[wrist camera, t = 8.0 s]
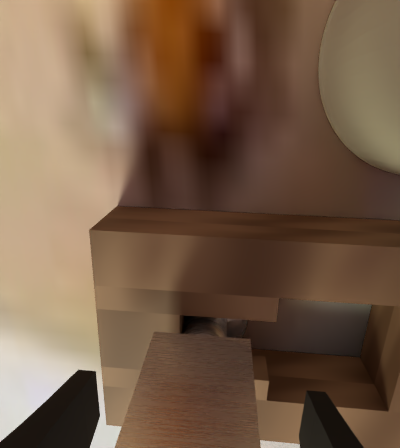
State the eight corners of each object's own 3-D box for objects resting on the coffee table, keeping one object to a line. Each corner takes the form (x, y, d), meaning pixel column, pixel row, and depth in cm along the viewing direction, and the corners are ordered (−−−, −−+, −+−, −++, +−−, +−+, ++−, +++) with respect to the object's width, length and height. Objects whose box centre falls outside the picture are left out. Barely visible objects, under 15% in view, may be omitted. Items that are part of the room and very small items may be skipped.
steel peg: (249, 276, 16) (273, 479, 7) (243, 342, 18) (258, 583, 9) (169, 271, 17) (98, 460, 8) (169, 337, 18) (109, 564, 9)
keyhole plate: (424, 221, 15) (476, 251, 12) (377, 395, 18) (409, 454, 15) (116, 206, 16) (89, 230, 13) (126, 373, 19) (106, 424, 16)
